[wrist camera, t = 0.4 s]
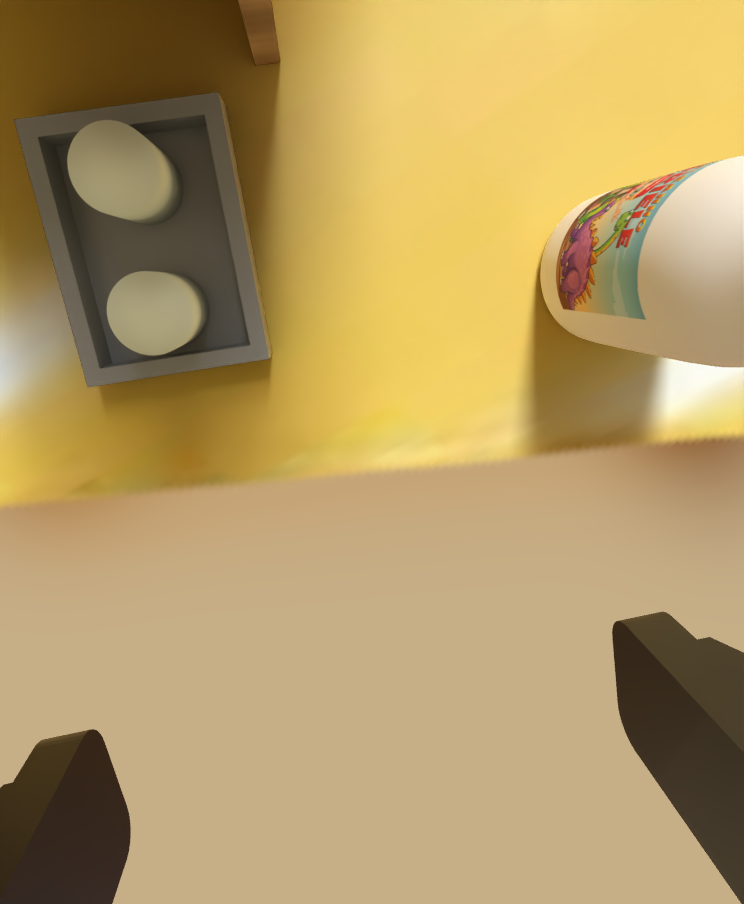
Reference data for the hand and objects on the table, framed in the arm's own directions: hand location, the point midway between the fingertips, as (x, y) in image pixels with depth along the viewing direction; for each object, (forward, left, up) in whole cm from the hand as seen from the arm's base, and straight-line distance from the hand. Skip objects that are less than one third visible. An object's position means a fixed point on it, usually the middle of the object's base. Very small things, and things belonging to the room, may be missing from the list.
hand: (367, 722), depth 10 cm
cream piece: (-6, -7, -25) cm, 27 cm away
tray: (-9, -7, -26) cm, 29 cm away
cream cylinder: (-12, -7, -25) cm, 29 cm away
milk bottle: (-5, +16, -26) cm, 31 cm away
